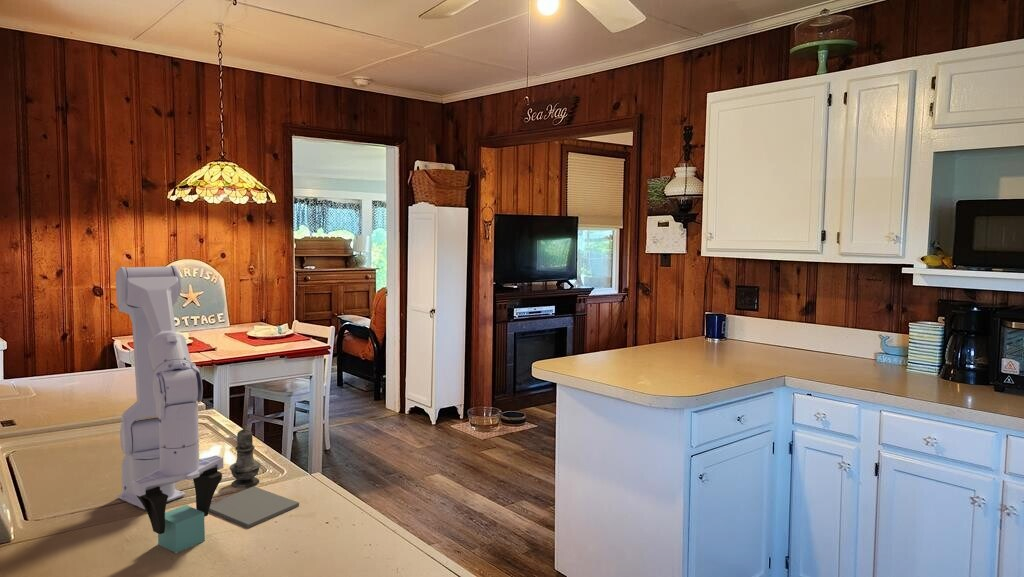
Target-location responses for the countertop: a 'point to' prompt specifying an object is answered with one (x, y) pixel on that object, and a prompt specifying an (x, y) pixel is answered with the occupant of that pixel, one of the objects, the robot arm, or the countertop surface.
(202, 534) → the teal cube
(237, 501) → the charcoal mat
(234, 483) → the dark grey chess piece
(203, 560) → the countertop surface
